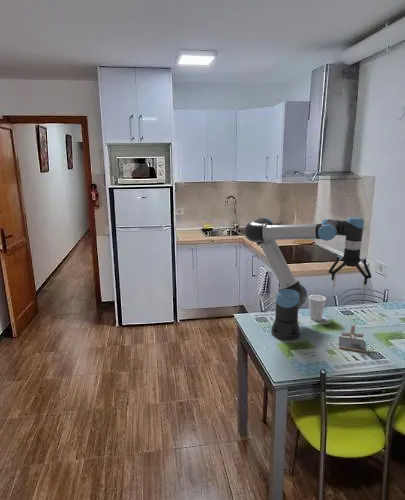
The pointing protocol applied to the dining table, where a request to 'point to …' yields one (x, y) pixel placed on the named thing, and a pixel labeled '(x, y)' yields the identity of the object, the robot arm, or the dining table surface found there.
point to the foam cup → (316, 306)
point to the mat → (356, 346)
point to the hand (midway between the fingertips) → (347, 288)
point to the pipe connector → (352, 334)
